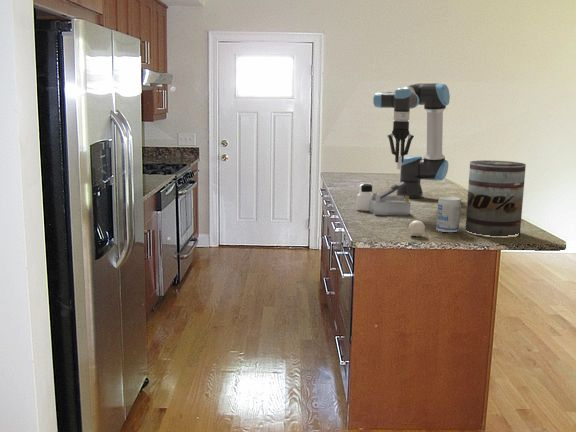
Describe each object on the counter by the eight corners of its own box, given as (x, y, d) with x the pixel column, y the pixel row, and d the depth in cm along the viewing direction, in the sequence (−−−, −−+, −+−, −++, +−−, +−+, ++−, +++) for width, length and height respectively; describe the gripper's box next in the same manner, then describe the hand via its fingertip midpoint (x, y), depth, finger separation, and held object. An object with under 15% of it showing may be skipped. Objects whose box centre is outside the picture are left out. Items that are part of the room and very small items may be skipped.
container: (373, 208, 334) (374, 183, 331) (371, 211, 326) (372, 185, 324) (359, 207, 336) (359, 182, 333) (355, 210, 329) (356, 184, 326)
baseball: (406, 237, 267) (407, 221, 266) (409, 234, 273) (410, 218, 272) (422, 239, 264) (423, 223, 263) (425, 235, 271) (426, 219, 270)
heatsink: (403, 211, 328) (404, 192, 326) (409, 214, 318) (410, 195, 317) (369, 211, 326) (369, 192, 324) (374, 214, 316) (375, 195, 314)
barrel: (455, 231, 280) (459, 162, 274) (482, 225, 295) (487, 159, 289) (503, 240, 264) (509, 167, 258) (529, 233, 279) (535, 163, 273)
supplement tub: (432, 231, 279) (434, 197, 277) (442, 228, 286) (444, 195, 284) (452, 234, 273) (455, 200, 270) (462, 231, 280) (465, 197, 278)
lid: (403, 183, 322) (401, 180, 322) (405, 184, 318) (404, 181, 318) (375, 199, 322) (374, 196, 322) (377, 201, 318) (376, 197, 318)
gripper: (390, 120, 310) (388, 169, 314) (416, 121, 311) (414, 170, 316) (386, 120, 317) (383, 168, 321) (411, 120, 319) (409, 168, 323)
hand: (398, 169), depth 318 cm, fingers closed
